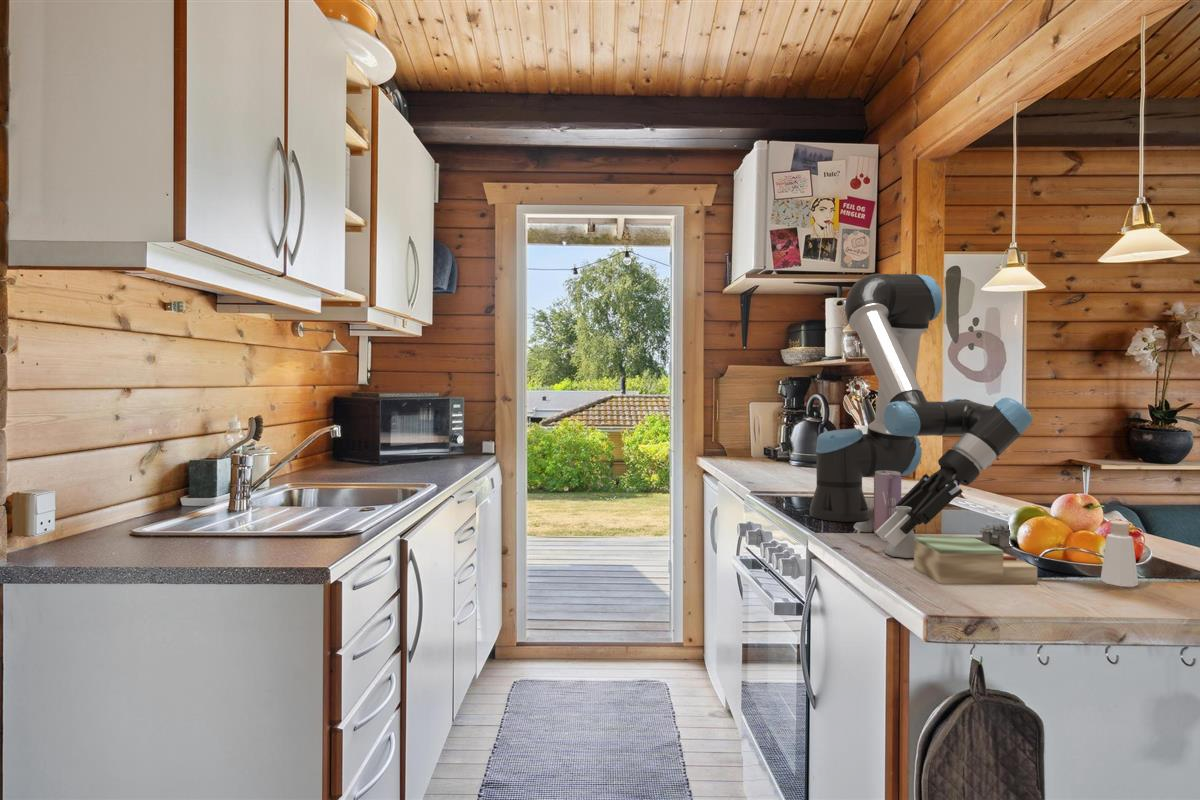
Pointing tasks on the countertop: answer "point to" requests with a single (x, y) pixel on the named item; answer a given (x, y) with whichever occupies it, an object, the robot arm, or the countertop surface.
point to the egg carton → (996, 535)
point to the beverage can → (885, 496)
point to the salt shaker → (1119, 557)
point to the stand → (969, 562)
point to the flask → (907, 544)
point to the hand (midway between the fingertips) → (884, 539)
